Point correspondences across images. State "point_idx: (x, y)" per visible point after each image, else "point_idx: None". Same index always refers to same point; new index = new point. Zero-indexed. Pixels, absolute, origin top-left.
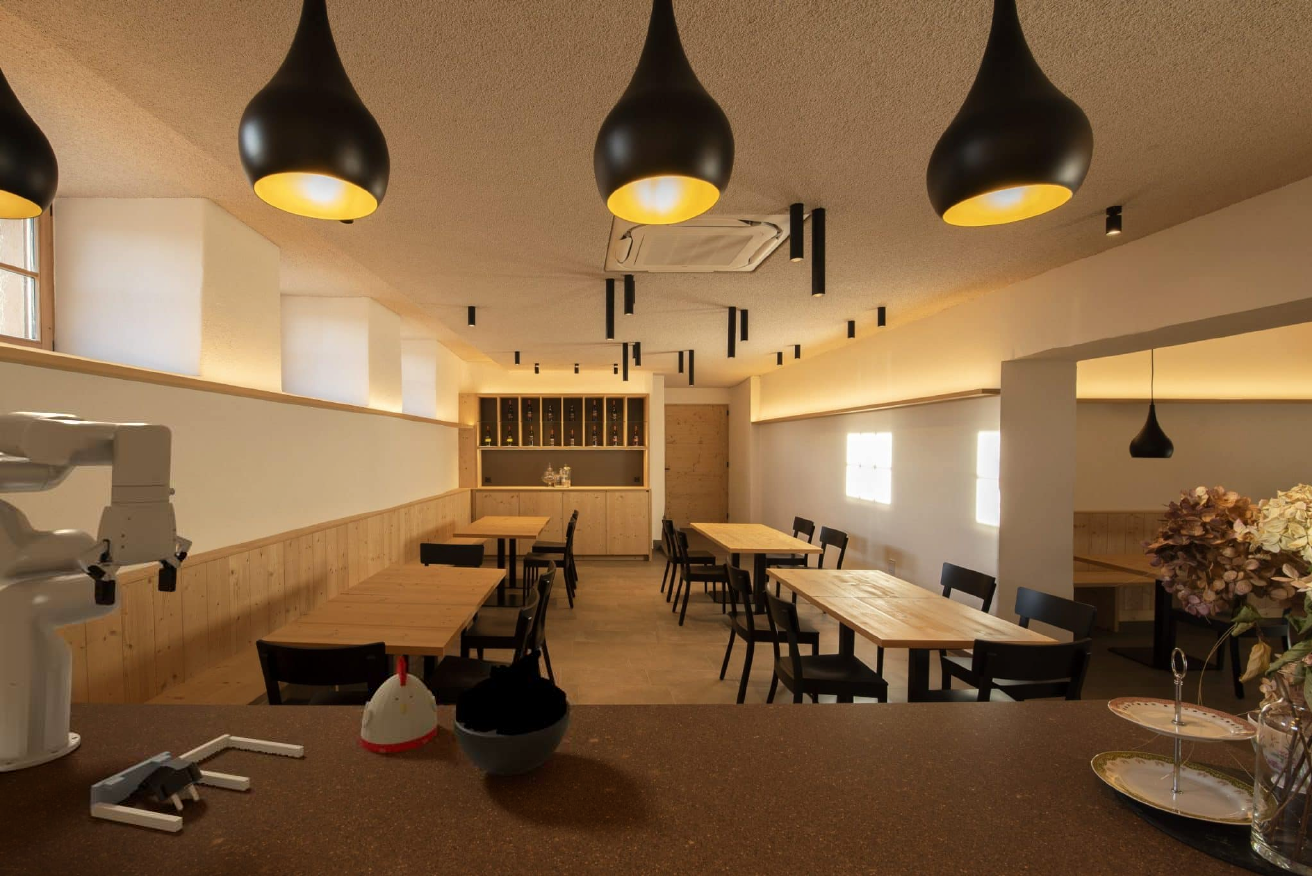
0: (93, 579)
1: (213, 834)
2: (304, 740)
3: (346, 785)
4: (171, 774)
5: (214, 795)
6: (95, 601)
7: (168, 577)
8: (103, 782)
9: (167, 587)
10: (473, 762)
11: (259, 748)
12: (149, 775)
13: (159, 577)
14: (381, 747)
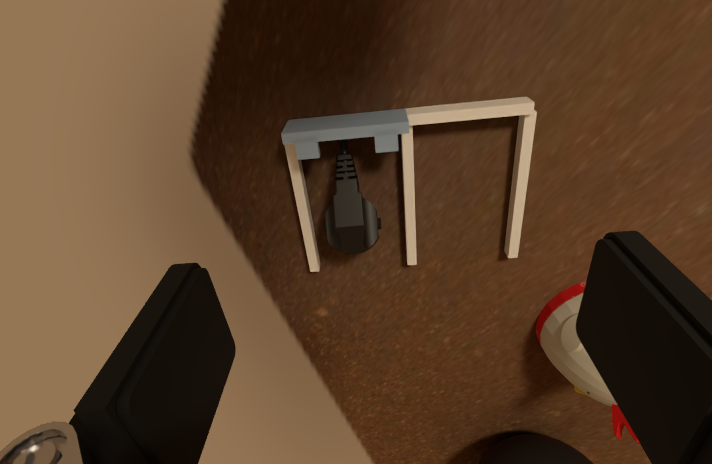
0: (36, 449)
1: (327, 300)
2: (562, 213)
3: (451, 344)
4: (334, 247)
5: (385, 233)
6: (167, 272)
7: (634, 397)
8: (296, 139)
9: (594, 325)
10: (481, 460)
11: (513, 182)
12: (333, 197)
13: (663, 316)
14: (538, 335)
